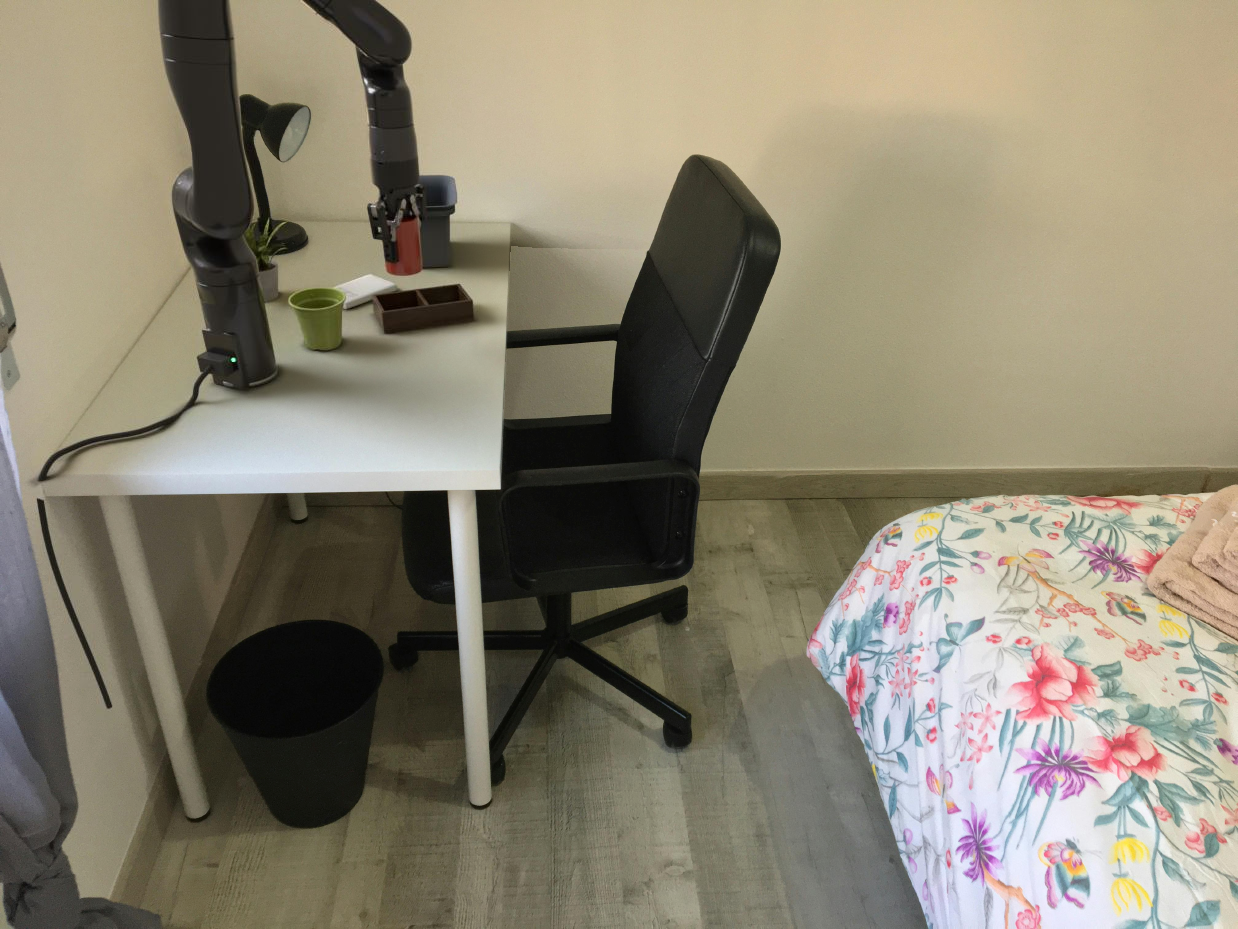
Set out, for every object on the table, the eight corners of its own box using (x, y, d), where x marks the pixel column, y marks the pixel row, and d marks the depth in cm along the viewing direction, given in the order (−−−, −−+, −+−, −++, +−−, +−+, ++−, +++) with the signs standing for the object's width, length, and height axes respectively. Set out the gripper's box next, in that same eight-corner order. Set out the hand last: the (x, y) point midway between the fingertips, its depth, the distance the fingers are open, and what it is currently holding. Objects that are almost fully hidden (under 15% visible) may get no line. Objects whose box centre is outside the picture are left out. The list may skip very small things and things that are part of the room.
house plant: (201, 304, 171) (182, 219, 162) (245, 278, 183) (230, 198, 174) (268, 315, 168) (252, 229, 160) (309, 288, 180) (296, 207, 171)
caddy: (474, 320, 170) (472, 300, 168) (384, 333, 164) (381, 312, 162) (460, 303, 177) (459, 283, 174) (374, 315, 170) (371, 294, 168)
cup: (410, 278, 150) (405, 224, 145) (379, 272, 151) (373, 219, 147) (429, 266, 154) (425, 214, 150) (398, 260, 156) (393, 209, 151)
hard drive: (397, 291, 180) (346, 310, 172) (369, 281, 184) (319, 298, 176) (396, 283, 179) (345, 302, 171) (369, 273, 183) (318, 290, 175)
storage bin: (462, 271, 190) (458, 204, 183) (386, 274, 188) (379, 205, 180) (458, 237, 208) (454, 174, 200) (388, 239, 205) (382, 175, 197)
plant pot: (362, 344, 160) (356, 298, 155) (314, 360, 154) (307, 313, 149) (333, 328, 165) (326, 282, 160) (285, 343, 159) (277, 296, 154)
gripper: (397, 140, 149) (406, 239, 158) (346, 160, 138) (358, 266, 147) (437, 146, 147) (444, 246, 156) (388, 167, 136) (398, 273, 145)
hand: (402, 255), depth 152 cm, fingers closed on cup, 6 cm apart
